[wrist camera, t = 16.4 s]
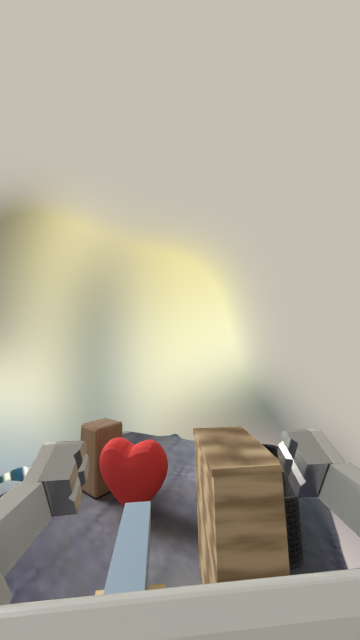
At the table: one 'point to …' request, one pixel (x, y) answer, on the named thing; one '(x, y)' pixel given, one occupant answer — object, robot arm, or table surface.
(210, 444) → the oak stand
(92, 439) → the block
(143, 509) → the blue bar
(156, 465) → the heart
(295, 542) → the storage bin
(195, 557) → the table surface
